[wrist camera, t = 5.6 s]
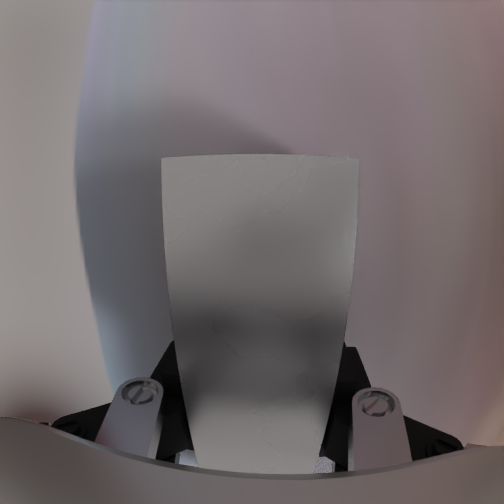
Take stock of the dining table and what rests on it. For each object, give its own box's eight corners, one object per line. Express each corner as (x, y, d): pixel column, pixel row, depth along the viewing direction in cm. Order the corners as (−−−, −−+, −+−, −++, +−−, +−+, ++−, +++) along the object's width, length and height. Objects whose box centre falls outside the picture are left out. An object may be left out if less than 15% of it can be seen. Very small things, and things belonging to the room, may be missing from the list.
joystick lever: (196, 165, 9) (134, 160, 5) (338, 166, 9) (387, 160, 5) (221, 482, 14) (210, 540, 9) (297, 485, 13) (298, 545, 9)
